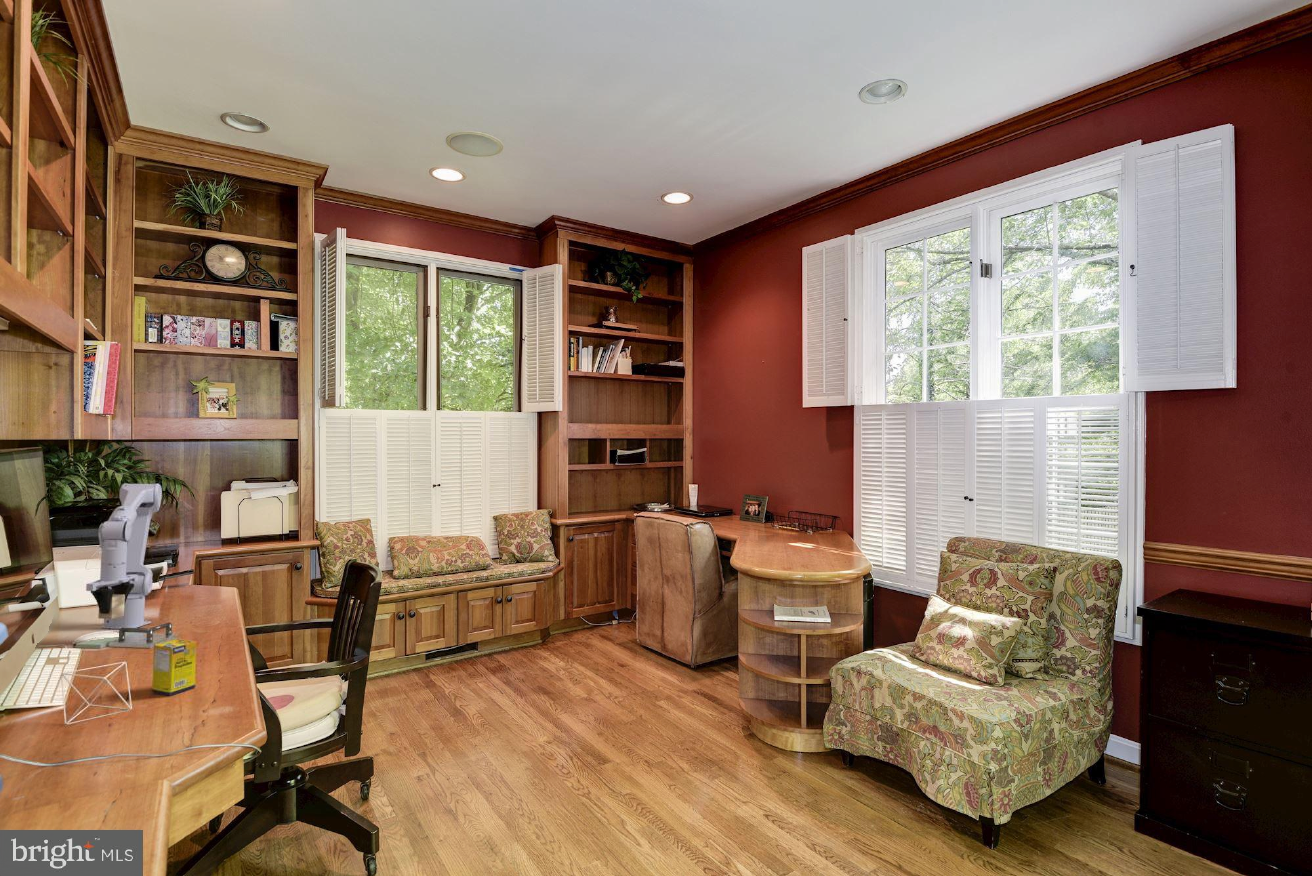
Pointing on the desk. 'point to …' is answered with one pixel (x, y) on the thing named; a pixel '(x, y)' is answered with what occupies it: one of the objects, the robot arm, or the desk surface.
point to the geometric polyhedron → (94, 690)
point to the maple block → (115, 607)
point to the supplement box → (174, 666)
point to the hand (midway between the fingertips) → (111, 611)
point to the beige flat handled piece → (144, 637)
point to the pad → (100, 642)
